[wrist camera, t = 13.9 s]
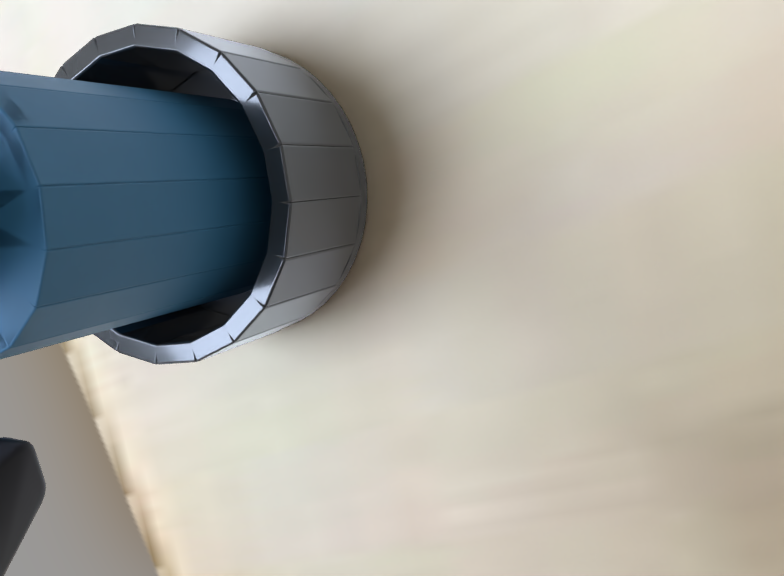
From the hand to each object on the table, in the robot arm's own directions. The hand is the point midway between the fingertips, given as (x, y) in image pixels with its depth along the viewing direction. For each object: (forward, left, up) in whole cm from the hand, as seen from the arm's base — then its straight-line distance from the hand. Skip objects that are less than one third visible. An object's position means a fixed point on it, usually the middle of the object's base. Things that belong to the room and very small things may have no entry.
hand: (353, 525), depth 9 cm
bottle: (+8, +8, -12) cm, 16 cm away
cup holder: (+8, +8, -13) cm, 17 cm away
